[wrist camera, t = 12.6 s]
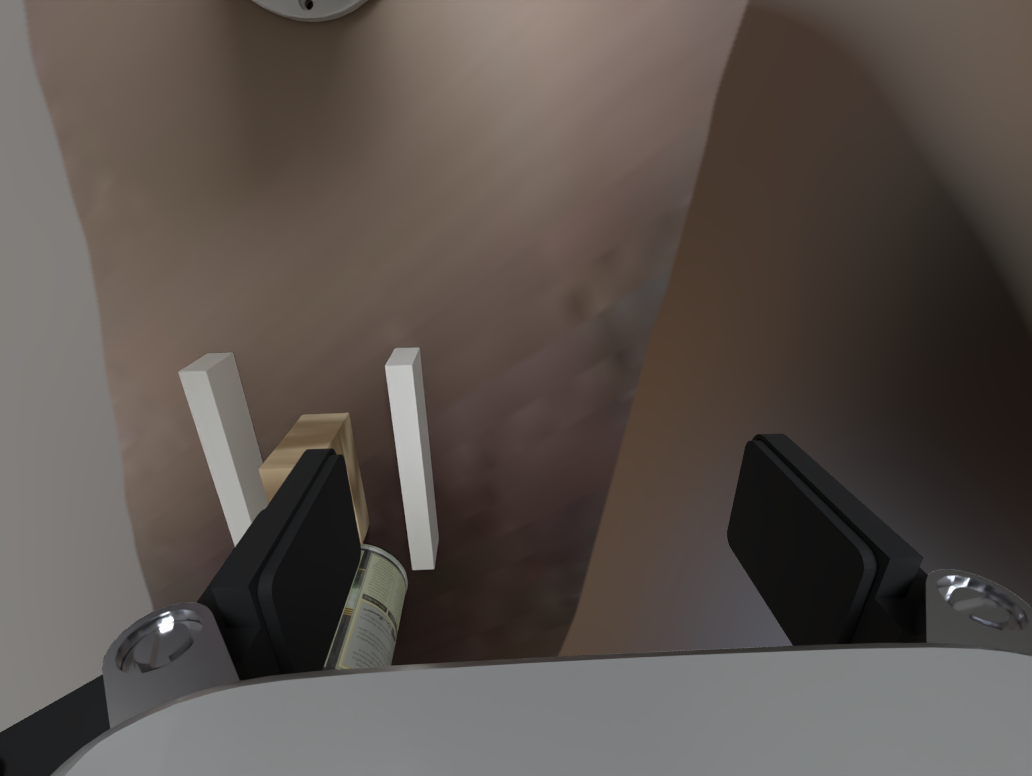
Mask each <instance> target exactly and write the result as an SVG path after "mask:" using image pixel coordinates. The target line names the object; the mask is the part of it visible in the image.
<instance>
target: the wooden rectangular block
mask: <svg viewBox="0 0 1032 776" xmlns="http://www.w3.org/2000/svg"><path fill="white" fill-rule="evenodd" d="M327 448H333V449H334V450H335V452H336V454H342V455H343V456H344V459H345V463H346V469H347V474H348V480H349V485H350V490H351V496H352V501H353V507H354V512H355V517H356V523H357V528H358V533H359V539H360V544H363V541H364V539H365V536H366V533H367V530H368V527H369V524H370V521H369V516H368V511H367V506H366V500H365V495H364V490H363V485H362V479H361V474H360V469H359V464H358V458H357V453H356V448H355V443H354V437H353V432H352V427H351V422H350V416H349V413H333V414H310V415H302V416H301V417H300V418H299V419H298V421H297V422H296V423H295V424H294V426H293V427H292V428H291V429H290V431H289V432H288V433H287V434H286V436H285V437H284V438H283V439H282V441H281V442H280V443H279V444H278V446H277V447H276V448H275V449H274V451H273V452H272V453H271V454H270V456H269V457H268V458H267V459H266V461H265V462H264V463H263V464H262V466H261V467H260V468H259V473H260V476H261V479H262V483H263V486H264V490H265V493H266V496H267V500H268V503H270V501H271V500H272V498H273V497H274V495H275V494H276V492H277V491H278V489H279V488H280V487H281V485H282V484H283V482H284V481H285V479H286V478H287V476H288V475H289V473H290V472H291V470H292V469H293V467H294V466H295V465H296V463H297V462H298V460H299V459H300V457H301V456H302V454H303V453H304V452H305V450H307V449H327Z"/></svg>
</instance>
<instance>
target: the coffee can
mask: <svg viewBox="0 0 1032 776" xmlns="http://www.w3.org/2000/svg"><path fill="white" fill-rule="evenodd" d="M407 586H408V580H407V575H406V572H405V570H404V568H403V566H402V565H401V564H400V562H399V561H398V560H397V559H396V558H395V557H394V556H392V555H391V554H389V553H388V552H386V551H384V550H382V549H380V548H378V547H375V546H372V545H368V544H361V558H360V563H359V566H358V569H357V572H356V574H355V577H354V580H353V583H352V586H351V589H350V592H349V595H348V598H347V601H346V603H345V606H344V609H343V612H342V615H341V618H340V621H339V624H338V627H337V630H336V633H335V635H334V638H333V641H332V644H331V647H330V650H329V653H328V656H327V659H326V662H325V664H324V667H323V670H322V671H324V670H336V669H351V668H365V667H380V666H391V663H392V658H393V653H394V647H395V643H396V638H397V633H398V628H399V623H400V618H401V613H402V607H403V602H404V598H405V594H406V591H407Z"/></svg>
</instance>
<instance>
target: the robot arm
mask: <svg viewBox="0 0 1032 776" xmlns="http://www.w3.org/2000/svg"><path fill="white" fill-rule="evenodd" d="M252 1H253V2H255V3H256V4H257V5H259V6H261V7H263V8H265V9H267V10H269V11H271V12H273V13H275V14H277V15H279V16H282V17H286V18H289V19H293V20H297V21H306V22H322V21H327V20H333V19H338V18H340V17H342V16H344V15H347V14H349V13H351V12H353V11H355V10H356V9H358V8H359V7H360V6H361V5H363V4H364V3H365V2H367V1H368V0H252ZM309 2H313V7H312V9H311V10H308V8H307V4H308V3H309ZM727 538H728V542H729V545H730V547H731V549H732V551H733V552H734V554H735V555H736V557H737V558H738V560H739V562H740V563H741V565H742V566H743V568H744V569H745V571H746V573H747V574H748V576H749V577H750V579H751V580H752V582H753V584H754V585H755V587H756V588H757V590H758V591H759V593H760V595H761V596H762V598H763V599H764V601H765V602H766V604H767V606H768V607H769V608H770V610H771V612H772V613H773V615H774V616H775V618H776V620H777V621H778V623H779V624H780V626H781V627H782V629H783V631H784V632H785V634H786V635H787V637H788V638H789V640H790V641H791V643H792V645H793V646H777V647H755V648H730V649H709V650H708V649H707V650H684V651H665V652H664V651H663V652H642V653H624V654H623V653H622V654H602V655H582V656H561V657H540V658H521V659H503V660H485V661H466V662H448V663H430V664H412V665H395V666H380V667H365V668H351V669H336V670H324V671H322V670H323V667H324V664H325V662H326V659H327V656H328V653H329V650H330V647H331V644H332V641H333V638H334V635H335V633H336V630H337V627H338V624H339V621H340V618H341V615H342V612H343V609H344V606H345V603H346V601H347V598H348V595H349V592H350V589H351V586H352V583H353V580H354V577H355V574H356V572H357V569H358V566H359V563H360V558H361V544H360V539H359V533H358V528H357V523H356V517H355V512H354V507H353V501H352V496H351V490H350V485H349V480H348V474H347V469H346V463H345V459H344V456H343V455H342V454H336V452H335V450H334V449H333V448H327V449H307V450H305V452H304V453H303V454H302V456H301V457H300V459H299V460H298V462H297V463H296V465H295V466H294V467H293V469H292V470H291V472H290V473H289V475H288V476H287V478H286V479H285V481H284V482H283V484H282V485H281V487H280V488H279V489H278V491H277V492H276V494H275V495H274V497H273V498H272V500H271V501H270V503H269V504H268V506H267V507H266V509H264V510H262V511H261V512H260V513H259V514H258V515H257V516H256V518H255V519H254V521H253V522H252V524H251V525H250V526H249V528H248V529H247V531H246V532H245V534H244V535H243V537H242V538H241V539H240V541H239V542H238V544H237V545H236V547H235V548H234V550H233V551H232V552H231V554H230V555H229V557H228V558H227V560H226V561H225V563H224V564H223V565H222V567H221V568H220V570H219V571H218V573H217V574H216V575H215V577H214V578H213V580H212V581H211V583H210V584H209V586H208V587H207V588H206V590H205V591H204V593H203V594H202V596H201V597H200V599H199V600H198V601H197V603H193V602H183V603H178V604H173V605H169V606H166V607H164V608H161V609H158V610H156V611H153V612H151V613H150V614H148V615H146V616H144V617H143V618H141V619H139V620H137V621H136V622H135V623H133V624H132V625H131V626H130V627H128V628H127V629H126V630H124V631H123V632H122V633H121V634H120V635H119V637H118V638H117V639H116V640H115V641H114V642H113V643H112V644H111V646H110V647H109V649H108V651H107V653H106V655H105V656H104V660H103V667H102V671H103V675H101V676H99V677H97V678H96V679H94V680H92V681H91V682H89V683H87V684H85V685H83V686H82V687H80V688H78V689H76V690H75V691H73V692H71V693H69V694H68V695H66V696H64V697H62V698H60V699H59V700H57V701H55V702H53V703H52V704H50V705H48V706H46V707H45V708H43V709H41V710H39V711H37V712H36V713H34V714H32V715H30V716H29V717H27V718H25V719H24V720H21V721H20V722H18V723H16V724H14V725H13V726H11V727H9V728H7V729H6V730H4V731H2V732H0V776H1032V608H1031V607H1030V606H1029V605H1028V604H1027V603H1026V602H1025V601H1023V600H1022V599H1020V598H1019V597H1018V596H1016V595H1015V594H1014V593H1012V592H1011V591H1009V590H1007V589H1005V588H1004V587H1002V586H1000V585H998V584H997V583H995V582H993V581H990V580H988V579H985V578H982V577H980V576H978V575H975V574H971V573H968V572H964V571H959V570H951V569H943V570H935V571H934V572H932V573H930V574H928V575H927V574H926V573H925V572H924V571H923V570H922V569H921V568H920V567H919V566H920V564H921V562H922V559H923V557H922V556H921V555H920V554H919V553H918V552H917V551H916V550H915V549H913V548H912V547H911V546H910V545H909V544H908V543H906V541H904V540H903V539H902V538H901V537H900V536H899V535H898V534H897V533H895V532H894V531H893V530H892V529H891V528H890V527H889V526H888V525H886V524H885V523H884V522H883V521H882V520H881V519H880V518H879V517H877V516H876V515H875V514H874V513H873V512H872V511H871V510H870V509H868V508H867V507H866V506H865V505H864V504H862V502H861V501H859V500H858V499H857V498H856V497H855V496H854V495H853V494H852V493H850V492H849V491H848V490H847V489H846V488H845V487H844V486H843V485H841V484H840V483H839V482H838V481H837V480H836V479H835V478H834V477H832V476H831V475H830V474H829V473H828V472H827V471H826V470H825V469H823V468H822V467H821V466H820V465H819V464H818V463H817V462H815V461H814V460H813V459H812V458H811V457H810V456H809V455H808V454H806V453H805V452H804V451H803V450H802V449H801V448H800V447H799V446H797V445H796V444H795V443H794V442H793V441H792V440H791V439H790V438H788V437H787V436H786V435H784V434H758V435H756V436H755V437H754V438H753V440H752V441H748V442H747V444H746V446H745V451H744V455H743V460H742V465H741V469H740V474H739V479H738V484H737V488H736V493H735V498H734V502H733V507H732V512H731V516H730V521H729V526H728V531H727Z"/></svg>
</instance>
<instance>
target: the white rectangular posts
mask: <svg viewBox="0 0 1032 776" xmlns="http://www.w3.org/2000/svg"><path fill="white" fill-rule="evenodd" d="M385 370H386V378H387V385H388V393H389V400H390V408H391V415H392V422H393V430H394V437H395V445H396V452H397V460H398V467H399V475H400V482H401V490H402V497H403V504H404V512H405V519H406V527H407V534H408V542H409V549H410V557H411V564H412V570H428V569H434V568H435V561H436V555H437V548H438V541H439V535H438V525H437V515H436V505H435V495H434V485H433V475H432V466H431V456H430V446H429V436H428V426H427V416H426V406H425V396H424V386H423V376H422V366H421V356H420V347H418V348H395V349H394V351H393V353H392V354H391V356H390V358H389V360H388V361H387V363H386V365H385ZM178 373H179V376H180V379H181V382H182V385H183V389H184V392H185V395H186V398H187V401H188V404H189V407H190V410H191V413H192V416H193V419H194V422H195V425H196V429H197V432H198V435H199V438H200V441H201V444H202V447H203V450H204V453H205V456H206V459H207V462H208V465H209V469H210V472H211V475H212V478H213V481H214V484H215V487H216V490H217V493H218V496H219V499H220V502H221V505H222V509H223V512H224V515H225V518H226V521H227V524H228V527H229V530H230V533H231V536H232V539H233V542H234V545H235V547H236V545H237V544H238V542H239V541H240V539H241V538H242V537H243V535H244V534H245V532H246V531H247V529H248V528H249V526H250V525H251V524H252V522H253V521H254V519H255V518H256V516H257V515H258V514H259V513H260V512H261V511H262V510H264V509H266V507H267V506H268V504H269V503H268V500H267V496H266V493H265V490H264V486H263V483H262V479H261V476H260V473H259V468H260V467H261V466H262V464H263V461H262V458H261V454H260V450H259V447H258V443H257V439H256V436H255V432H254V428H253V424H252V421H251V417H250V413H249V410H248V406H247V402H246V398H245V395H244V391H243V387H242V384H241V380H240V376H239V373H238V369H237V365H236V361H235V358H234V354H233V352H231V353H207V354H206V355H204V356H202V357H201V358H199V359H198V360H196V361H194V362H193V363H191V364H190V365H188V366H186V367H185V368H183V369H182V370H180V371H178Z"/></svg>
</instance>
